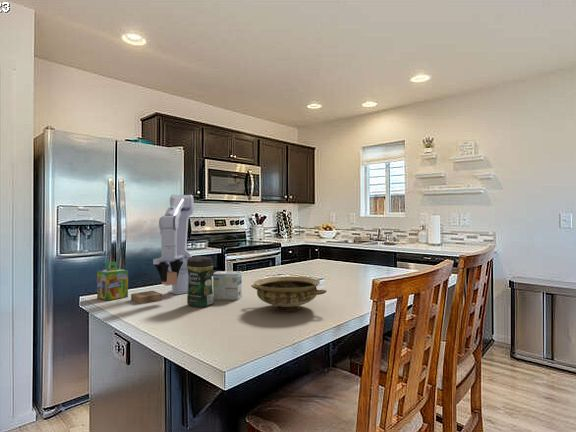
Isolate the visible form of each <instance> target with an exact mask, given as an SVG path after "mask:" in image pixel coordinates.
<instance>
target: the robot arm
mask: <svg viewBox="0 0 576 432" xmlns="http://www.w3.org/2000/svg"><path fill="white" fill-rule="evenodd" d="M194 201H195V200H194V195H192V194H171V196H170V197H169V207H168V208H167V210H166V212H165V213H164V215H162V216H161V217H159V220H158V228H159V235H160V236H161V237H160V238H161V241H160V242H161V245H160V246H161V251H160V252H161V256H160V257H157V258H152V259H153V260H152V263H153V265H154V267H155V269H156V270H157V272H158V274H159V277H160V281H161V283H162V282H166V281H167V272H176V273H177V284H174V285H171V290H168V291H167V293H170V294H174V295H181V294H186V293H187V294H188V270H187V261H188V259H189V257H193V256H192V254H191V252H189V251H188V250H187V244H188V243H187V241H188V230H189V229H188V227H189V219H190V216H192V215H193V214H194V207H195V206H194V204H195V202H194Z"/></svg>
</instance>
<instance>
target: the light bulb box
mask: <svg viewBox="0 0 576 432" xmlns="http://www.w3.org/2000/svg"><path fill="white" fill-rule="evenodd" d="M242 275H243V274H242V270H239V271H236V270H235V271H234V270H233V271H230V270H228V271H227V270H226V271H225V270H224V271H222V270H218V271H215V272H212V289H213V301H214V300H219V301H220V300H226V301H228V300H231V301H232V300H233V301H236V300H237V301H238V300H240V299H241V298H242V297H243V287H242V286H243V285H242V282H243V278H242Z"/></svg>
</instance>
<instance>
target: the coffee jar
mask: <svg viewBox="0 0 576 432" xmlns="http://www.w3.org/2000/svg"><path fill="white" fill-rule="evenodd" d="M187 270H188V293H187V297H186V303H187V305H188V306H191V307H196V308H202V307H203V308H205V307H210V306H211V305H213V304H214V300H213V270H214V263H213V258H211V257H209V256H200V255H198V256H196V255H195V256H192V257H189V259H188V261H187Z"/></svg>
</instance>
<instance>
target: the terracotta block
mask: <svg viewBox="0 0 576 432" xmlns="http://www.w3.org/2000/svg"><path fill="white" fill-rule="evenodd" d="M161 284H162V285H163V286H172V285H174V284H177V273H176V272H171V271H167V281H166V282H161Z"/></svg>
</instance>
